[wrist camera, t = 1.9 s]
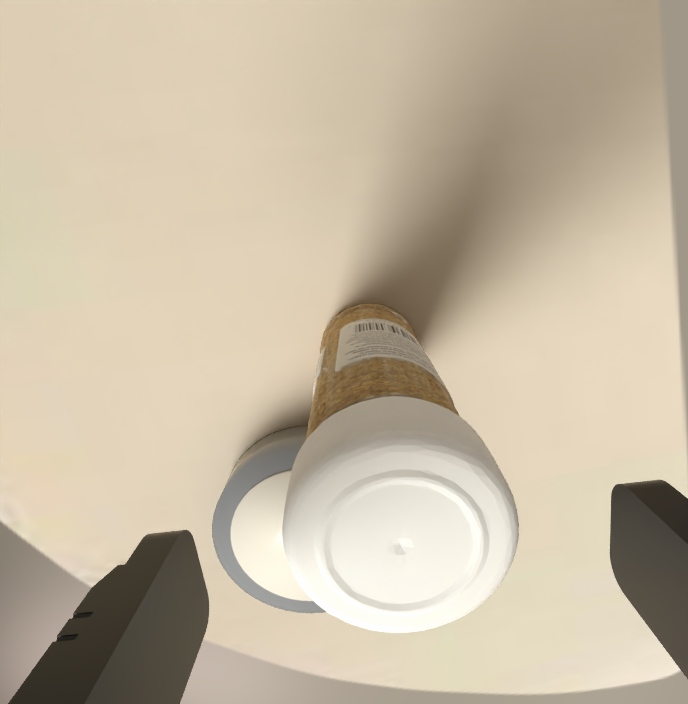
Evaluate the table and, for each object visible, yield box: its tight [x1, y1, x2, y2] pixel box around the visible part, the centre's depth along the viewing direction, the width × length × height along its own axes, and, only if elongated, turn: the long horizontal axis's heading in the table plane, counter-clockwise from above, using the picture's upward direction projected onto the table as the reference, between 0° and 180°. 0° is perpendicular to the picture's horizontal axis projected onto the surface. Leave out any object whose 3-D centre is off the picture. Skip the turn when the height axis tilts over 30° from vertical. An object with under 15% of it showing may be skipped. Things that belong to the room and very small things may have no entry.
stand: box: [212, 426, 326, 613], centre depth 22 cm, size 9×9×3 cm
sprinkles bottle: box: [282, 304, 519, 633], centre depth 15 cm, size 5×5×14 cm
